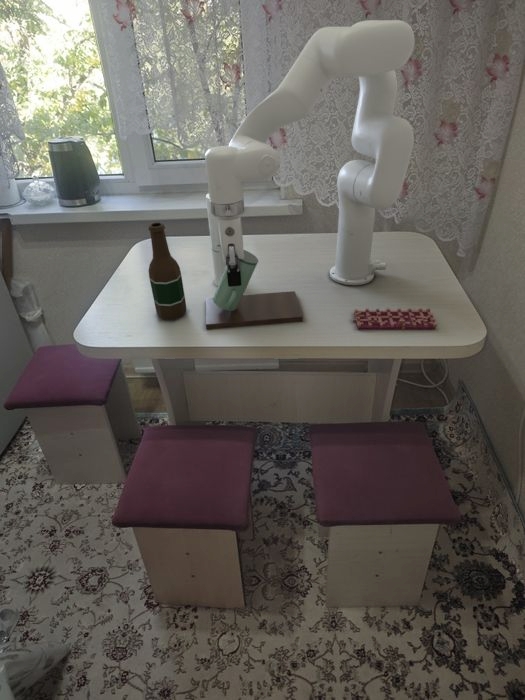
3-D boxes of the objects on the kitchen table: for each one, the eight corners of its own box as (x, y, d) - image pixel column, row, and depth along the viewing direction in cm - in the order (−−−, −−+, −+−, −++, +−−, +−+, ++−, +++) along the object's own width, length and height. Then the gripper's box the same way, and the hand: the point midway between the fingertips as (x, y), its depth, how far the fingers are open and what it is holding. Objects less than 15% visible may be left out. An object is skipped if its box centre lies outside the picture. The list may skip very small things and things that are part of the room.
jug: (236, 300, 120) (257, 254, 112) (238, 319, 112) (260, 271, 105) (212, 292, 118) (232, 245, 110) (212, 311, 110) (234, 261, 103)
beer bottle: (173, 324, 114) (157, 233, 100) (150, 316, 118) (131, 227, 103) (193, 310, 119) (180, 221, 105) (170, 302, 123) (155, 216, 109)
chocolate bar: (351, 313, 115) (352, 307, 114) (427, 313, 114) (429, 306, 113) (354, 329, 109) (355, 322, 108) (435, 329, 108) (436, 322, 107)
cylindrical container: (236, 288, 128) (229, 200, 113) (212, 287, 129) (202, 199, 114) (242, 277, 134) (236, 191, 119) (219, 275, 135) (210, 190, 120)
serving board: (294, 295, 124) (294, 291, 123) (302, 321, 113) (302, 316, 112) (206, 302, 122) (206, 298, 121) (206, 329, 112) (205, 324, 111)
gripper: (246, 219, 95) (252, 294, 105) (241, 193, 109) (246, 261, 119) (211, 222, 94) (219, 297, 105) (210, 195, 108) (218, 264, 119)
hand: (234, 277), depth 112 cm, fingers closed on jug, 6 cm apart
